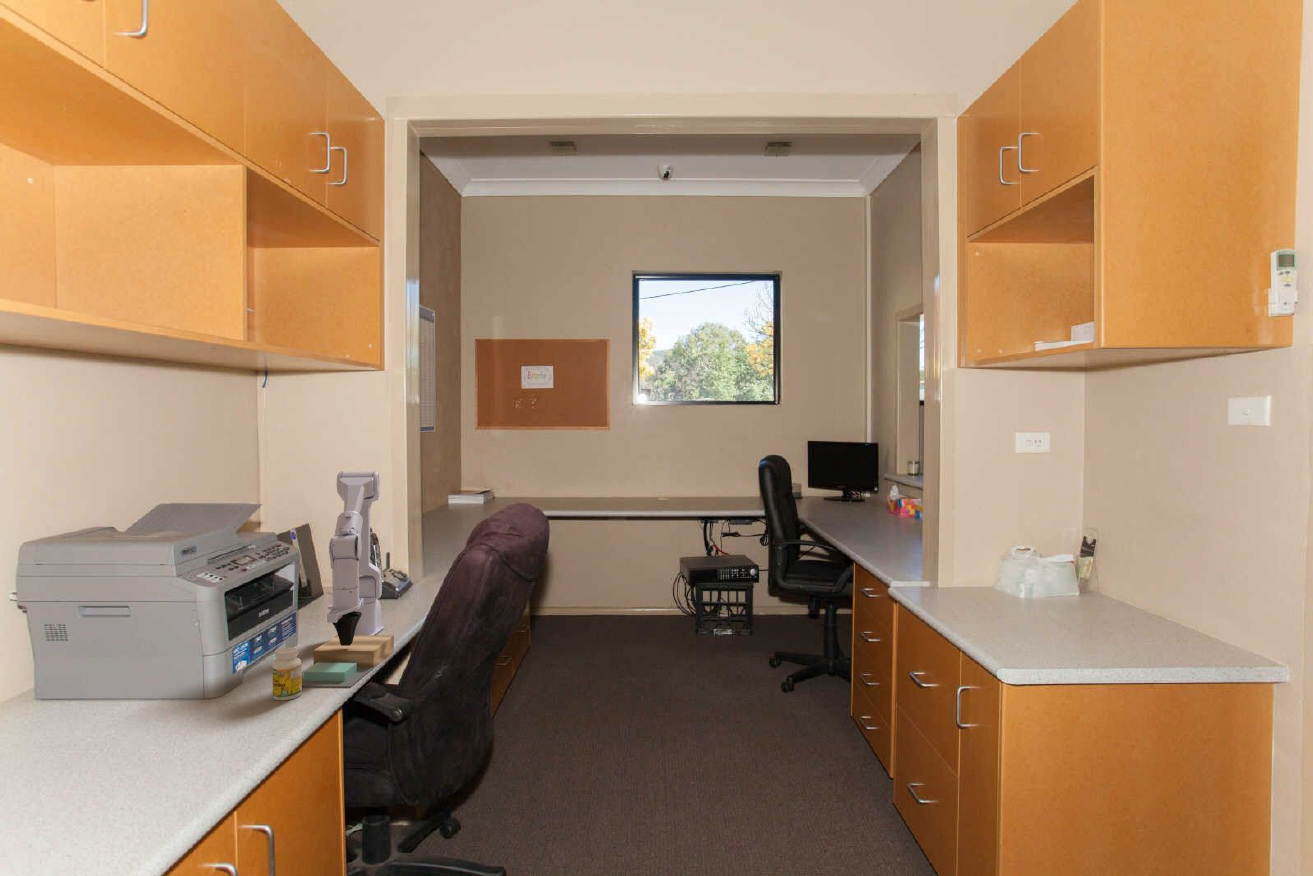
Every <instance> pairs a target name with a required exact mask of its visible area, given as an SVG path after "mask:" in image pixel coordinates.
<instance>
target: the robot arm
mask: <svg viewBox="0 0 1313 876" xmlns="http://www.w3.org/2000/svg"><path fill="white" fill-rule="evenodd" d="M336 491H337V494H338V496H339V497H340V499H341V500H342V502H344V505H343V512H341V513H340V514H339V515H338V516H337V521H336V525H335V530H334V536H333V537H331V538H330V540H329V542H328V543H329V544H328V554H329V560H330V569H332V571H331V573H332V574H331V577H332V578H331V579H332V588H331V589H332V604H329V605H328V606H327V610H329V612H328V613H327V614H326V623H329V624H331V623H332V625H333V626H334V629H335V630H336V633H337V635H338V637H339V641H340V644H341V646H350V645H351V644H352V642H353V638H354V635H377V634H378V633H379V632H381V631H383V630H384V629H385V626H383V625H382V606H381V602H380V600H379V599H380V598H382V597H381V596H382V592H383V579H382V571H381V569H380V568H379V567H377V566H376V565H374V564H373V563H371V507H372V505H373V502H376V501H378V500H379V498H380V474H379V472H378V471H377V470H374V471H343V470H342V471H339V473H338V474H337V476H336Z"/></svg>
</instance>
